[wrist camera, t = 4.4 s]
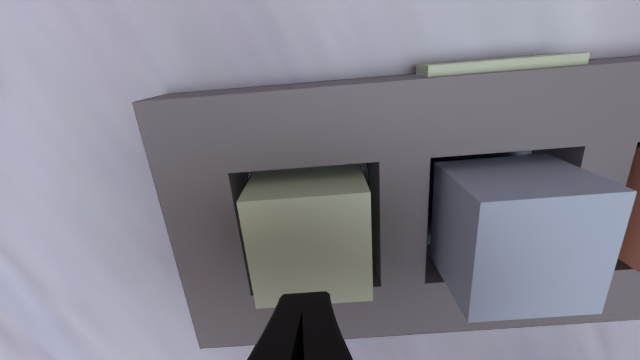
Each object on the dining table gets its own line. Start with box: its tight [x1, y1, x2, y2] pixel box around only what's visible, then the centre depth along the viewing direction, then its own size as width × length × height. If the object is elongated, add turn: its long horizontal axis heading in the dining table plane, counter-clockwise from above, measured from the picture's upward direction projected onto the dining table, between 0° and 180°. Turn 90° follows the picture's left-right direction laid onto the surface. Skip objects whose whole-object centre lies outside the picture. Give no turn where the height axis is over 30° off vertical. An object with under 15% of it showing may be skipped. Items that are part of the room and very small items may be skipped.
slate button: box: [430, 154, 637, 323], centre depth 13 cm, size 5×5×4 cm
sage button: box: [236, 163, 373, 309], centre depth 14 cm, size 5×5×4 cm
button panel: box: [132, 53, 640, 349], centre depth 15 cm, size 12×28×3 cm, turn 94°
